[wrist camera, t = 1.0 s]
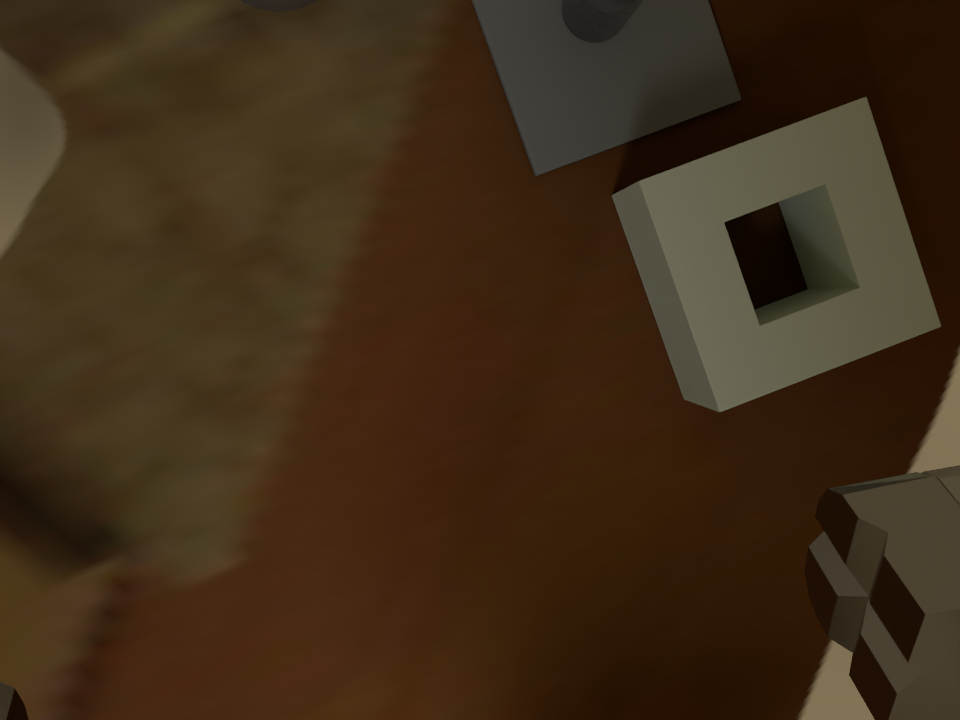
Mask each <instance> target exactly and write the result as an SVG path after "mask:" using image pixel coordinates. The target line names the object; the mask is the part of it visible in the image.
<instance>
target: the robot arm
mask: <svg viewBox="0 0 960 720" xmlns="http://www.w3.org/2000/svg"><path fill="white" fill-rule="evenodd" d="M815 517H816V519H817V520H818V522H819V523H820V525H821V527H822V528H823V530H824V532H823V533H822V534H821V535H820V536H819V537H818V538H817V539H816V540H815V541H814V542H813V543H812V544H811V545H810V546H809V547H808V553H807V559H806V565H805V575H806V581H807V588H808V595H809V598H810V601H811V603H812V606H813V609H814V611H815V614H816V616H817V618H818V620H819V622H820V624H821V626H822V627H823V629H824V631H825V633H826V635H827V637H829V638H830V639H832V640H833V641H835V642H837V643H838V644H840V645H841V646H843V647H845V648H846V649H848V650H849V651H851V652H853V656H852V662H851V668H850V673H849V675H850V677H851V679H852V681H853V682H854V684H855V686H856V688H857V689H858V691H859V693H860V695H861V696H862V698H863V700H864V701H865V703H866V705H867V707H868V708H869V710H870V712H871V714H872V715H873V717H874V719H875V720H960V466H954V467H948V468H943V469H937V470H931V471H925V472H922V473H917V472H916V473H910V474H905V475H900V476H894V477H889V478H883V479H878V480H873V481H867V482H862V483H857V484H851V485H846V486H840V487H835V488H830V489H827V490H826V491H825V492H824V494H823V495H822V496H821V497H820V498H819V502H818V506H817V511H816V515H815ZM0 720H29V719H28V716H27V712H26V709H25V705H24V703H23V701H22V699H21V698H20V696H19V694H18V693H17V691H16V690H15V688H13V687H11V686H9V685H6V684H4V683H2V682H0Z"/></svg>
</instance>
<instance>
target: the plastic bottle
mask: <svg viewBox="0 0 960 720" xmlns="http://www.w3.org/2000/svg"><path fill="white" fill-rule="evenodd" d="M241 1H242V2H244V3H246V4H248V5H251V6H253V7H256V8H259V9H265V10H270V11H288V10H293V9H298V8H302V7H304V6H307V5H309V4H311V3H314V2H315V1H317V0H241Z"/></svg>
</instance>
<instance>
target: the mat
mask: <svg viewBox="0 0 960 720" xmlns="http://www.w3.org/2000/svg"><path fill="white" fill-rule="evenodd" d="M472 3H473V6H474V9H475V12H476V14H477V17H478V20H479V23H480V25H481V28H482V31H483V34H484V36H485V39H486V42H487V45H488V47H489V50H490V53H491V56H492V58H493V61H494V64H495V67H496V70H497V72H498V75H499V78H500V81H501V83H502V86H503V89H504V92H505V94H506V97H507V100H508V103H509V105H510V108H511V111H512V114H513V117H514V119H515V122H516V125H517V128H518V130H519V133H520V136H521V139H522V141H523V144H524V147H525V150H526V152H527V155H528V158H529V161H530V164H531V166H532V169H533V172H534V175H535V176H538V175H540V174H543V173H546V172H549V171H551V170H554V169H557V168H559V167H562V166H565V165H568V164H570V163H573V162H576V161H578V160H581V159H584V158H586V157H589V156H592V155H595V154H597V153H600V152H603V151H605V150H608V149H611V148H614V147H616V146H619V145H622V144H624V143H627V142H630V141H632V140H635V139H638V138H641V137H643V136H646V135H649V134H651V133H654V132H657V131H659V130H662V129H665V128H668V127H670V126H673V125H676V124H678V123H681V122H684V121H687V120H689V119H692V118H695V117H697V116H700V115H703V114H705V113H708V112H711V111H714V110H716V109H719V108H722V107H724V106H727V105H730V104H733V103H735V102H738V101H740V100H741V96H740V93H739V90H738V87H737V84H736V81H735V78H734V75H733V72H732V69H731V66H730V63H729V60H728V57H727V54H726V51H725V48H724V45H723V42H722V40H721V37H720V34H719V31H718V28H717V25H716V22H715V19H714V16H713V13H712V10H711V7H710V4H709V1H708V0H644V1H643V2H642V3H641V5H640V6H639V7H638V8H637V10H636V11H635V12H634V14H633V15H632V16H631V17H630V19H629V20H628V21H627V23H626V24H625V25H624V26H623V28H622V29H621V30H620V32H619V33H618V34H617V35H615V36H614V37H613V38H611V39H609V40H607V41H604V42H599V43H591V42H586V41H583V40H581V39H579V38H577V37H576V36H575V35H573V34H572V33H571V32H570V31H569V29H568V28H567V26H566V25H565V23H564V20H563V17H562V12H561V4H562V0H472Z"/></svg>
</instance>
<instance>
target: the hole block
mask: <svg viewBox="0 0 960 720" xmlns="http://www.w3.org/2000/svg"><path fill="white" fill-rule="evenodd" d="M612 198H613V201H614V204H615V207H616V210H617V212H618V215H619V218H620V221H621V224H622V226H623V229H624V232H625V235H626V238H627V241H628V243H629V246H630V249H631V252H632V255H633V257H634V260H635V263H636V266H637V269H638V272H639V274H640V277H641V280H642V283H643V286H644V288H645V291H646V294H647V297H648V300H649V303H650V305H651V308H652V311H653V314H654V317H655V319H656V322H657V325H658V328H659V331H660V334H661V336H662V339H663V342H664V345H665V348H666V350H667V353H668V356H669V359H670V362H671V365H672V367H673V370H674V373H675V376H676V379H677V381H678V384H679V387H680V390H681V393H682V396H683V398H684V400H687V401H690V402H693V403H695V404H698V405H701V406H704V407H707V408H709V409H712V410H715V411H718V412H722V411H725V410H727V409H730V408H732V407H735V406H738V405H740V404H743V403H745V402H748V401H750V400H753V399H756V398H758V397H761V396H763V395H766V394H769V393H771V392H774V391H776V390H779V389H781V388H784V387H787V386H789V385H792V384H794V383H797V382H800V381H802V380H805V379H807V378H810V377H812V376H815V375H818V374H820V373H823V372H825V371H828V370H831V369H833V368H836V367H838V366H841V365H843V364H846V363H849V362H851V361H854V360H856V359H859V358H862V357H864V356H867V355H869V354H872V353H875V352H877V351H880V350H882V349H885V348H887V347H890V346H893V345H895V344H898V343H900V342H903V341H906V340H908V339H911V338H913V337H916V336H918V335H921V334H924V333H926V332H929V331H931V330H934V329H937V328H939V327H941V324H940V321H939V318H938V315H937V312H936V309H935V306H934V303H933V300H932V297H931V294H930V290H929V287H928V284H927V281H926V278H925V275H924V272H923V269H922V266H921V263H920V260H919V257H918V254H917V251H916V248H915V244H914V241H913V238H912V235H911V232H910V229H909V226H908V223H907V220H906V217H905V214H904V211H903V208H902V205H901V202H900V198H899V195H898V192H897V189H896V186H895V183H894V180H893V177H892V174H891V171H890V168H889V165H888V162H887V159H886V156H885V153H884V149H883V146H882V143H881V140H880V137H879V134H878V131H877V128H876V125H875V122H874V119H873V116H872V113H871V110H870V107H869V103H868V100H867V97H864V98H861V99H858V100H856V101H853V102H850V103H847V104H845V105H842V106H839V107H837V108H834V109H831V110H829V111H826V112H823V113H821V114H818V115H815V116H813V117H810V118H807V119H804V120H802V121H799V122H796V123H794V124H791V125H788V126H786V127H783V128H780V129H778V130H775V131H772V132H770V133H767V134H764V135H761V136H759V137H756V138H753V139H751V140H748V141H745V142H743V143H740V144H737V145H735V146H732V147H729V148H727V149H724V150H721V151H719V152H716V153H713V154H710V155H708V156H705V157H702V158H700V159H697V160H694V161H692V162H689V163H686V164H684V165H681V166H678V167H676V168H673V169H670V170H667V171H665V172H662V173H659V174H657V175H654V176H651V177H649V178H646V179H643V180H641V181H638V182H636V183H634V184H632V185H631V186H629V187H627V188H625V189H623V190H621V191H619V192H617V193H615V194H613V195H612ZM777 202H779V205H780V208H781V211H782V214H783V217H784V220H785V223H786V226H787V229H788V232H789V235H790V238H791V241H792V244H793V247H794V250H795V253H796V256H797V259H798V261H799V264H800V267H801V270H802V273H803V276H804V279H805V282H806V285H807V288H808V289H807V290H805V291H802V292H799V293H797V294H794V295H791V296H789V297H786V298H784V299H781V300H778V301H776V302H773V303H771V304H768V305H765V306H763V307H760V308H757V309H755V310H754V308H753V305H752V302H751V299H750V296H749V293H748V290H747V287H746V284H745V282H744V279H743V276H742V273H741V270H740V267H739V264H738V261H737V258H736V255H735V253H734V250H733V247H732V244H731V241H730V238H729V235H728V232H727V229H726V226H725V224H724V222H726V221H729V220H731V219H734V218H737V217H739V216H742V215H745V214H747V213H750V212H753V211H755V210H758V209H761V208H763V207H766V206H769V205H771V204H774V203H777Z"/></svg>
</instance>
